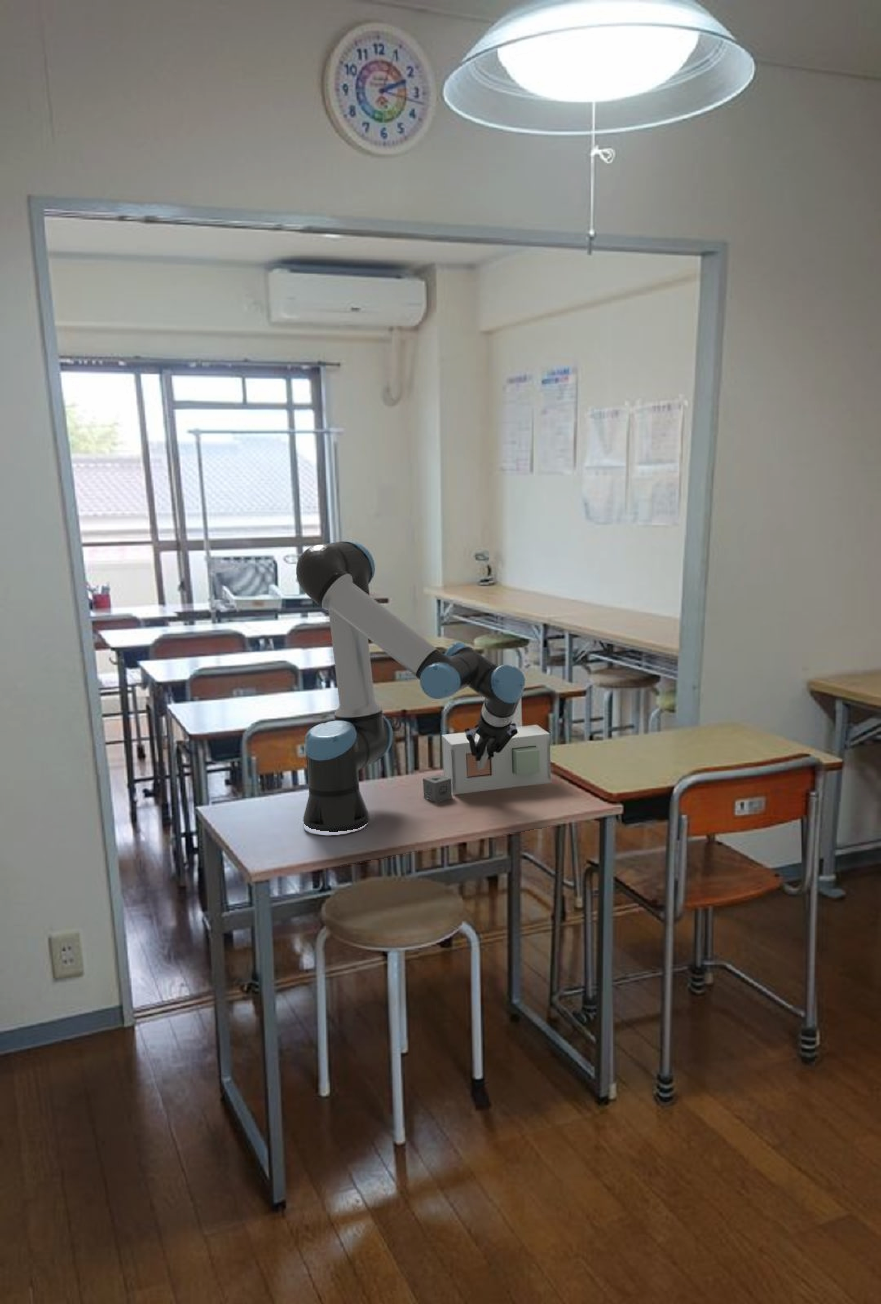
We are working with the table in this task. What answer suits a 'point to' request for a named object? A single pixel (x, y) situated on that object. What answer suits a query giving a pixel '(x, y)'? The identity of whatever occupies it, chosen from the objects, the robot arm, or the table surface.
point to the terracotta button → (475, 766)
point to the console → (495, 762)
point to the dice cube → (437, 788)
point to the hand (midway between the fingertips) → (480, 764)
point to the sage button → (525, 760)
